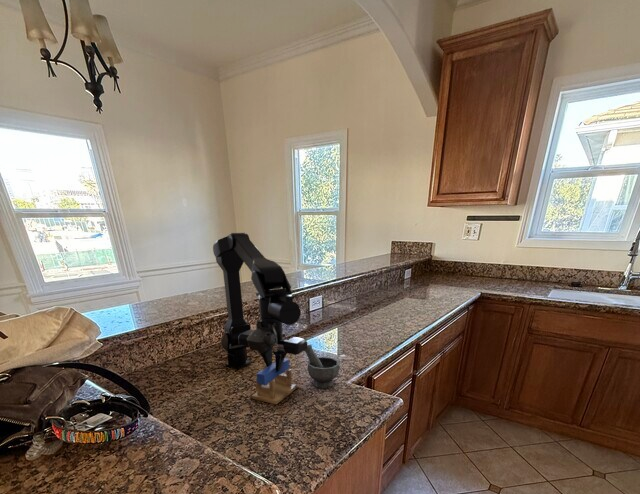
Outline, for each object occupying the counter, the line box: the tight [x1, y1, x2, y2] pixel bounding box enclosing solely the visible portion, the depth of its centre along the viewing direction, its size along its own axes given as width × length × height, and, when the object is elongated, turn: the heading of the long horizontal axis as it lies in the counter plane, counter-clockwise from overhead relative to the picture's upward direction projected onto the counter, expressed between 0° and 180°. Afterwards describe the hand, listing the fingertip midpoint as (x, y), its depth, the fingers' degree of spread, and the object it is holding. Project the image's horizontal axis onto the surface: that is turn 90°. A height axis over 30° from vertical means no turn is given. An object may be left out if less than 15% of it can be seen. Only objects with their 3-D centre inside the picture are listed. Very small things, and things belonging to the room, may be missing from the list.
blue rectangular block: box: [256, 357, 290, 386], centre depth 99 cm, size 13×2×3 cm, turn 155°
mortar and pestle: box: [303, 344, 340, 389], centre depth 106 cm, size 11×9×12 cm
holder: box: [251, 368, 298, 405], centre depth 100 cm, size 12×8×6 cm
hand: (273, 370), depth 99 cm, fingers closed on blue rectangular block, 2 cm apart
